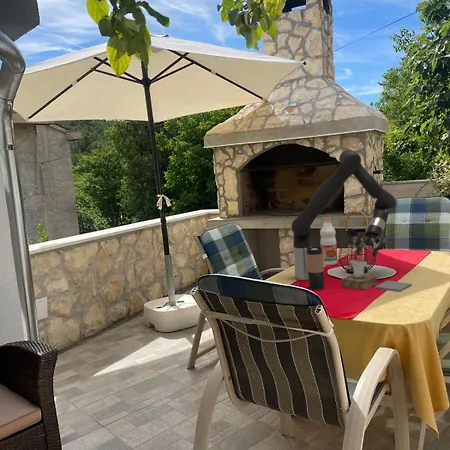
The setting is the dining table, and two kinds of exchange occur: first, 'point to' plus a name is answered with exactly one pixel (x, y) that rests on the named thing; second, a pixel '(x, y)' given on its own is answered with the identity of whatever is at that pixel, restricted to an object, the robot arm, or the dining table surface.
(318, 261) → the travel mug
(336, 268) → the dining table surface
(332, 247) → the fruit juice
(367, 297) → the dining table surface
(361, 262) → the t key
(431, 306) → the dining table surface
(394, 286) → the grey mat
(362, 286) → the socket block
